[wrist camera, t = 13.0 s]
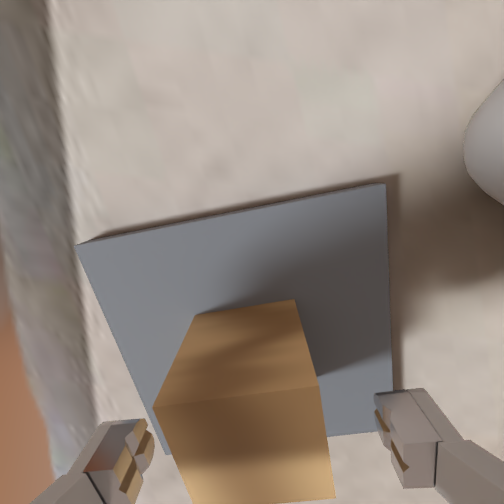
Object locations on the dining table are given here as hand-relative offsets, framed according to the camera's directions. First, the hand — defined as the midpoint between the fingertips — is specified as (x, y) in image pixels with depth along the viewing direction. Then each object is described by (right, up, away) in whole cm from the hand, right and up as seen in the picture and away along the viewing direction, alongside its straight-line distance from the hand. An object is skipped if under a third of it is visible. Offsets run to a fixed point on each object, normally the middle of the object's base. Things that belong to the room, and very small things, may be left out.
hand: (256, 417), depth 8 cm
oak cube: (0, +1, +4) cm, 4 cm away
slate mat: (0, +1, +5) cm, 5 cm away
